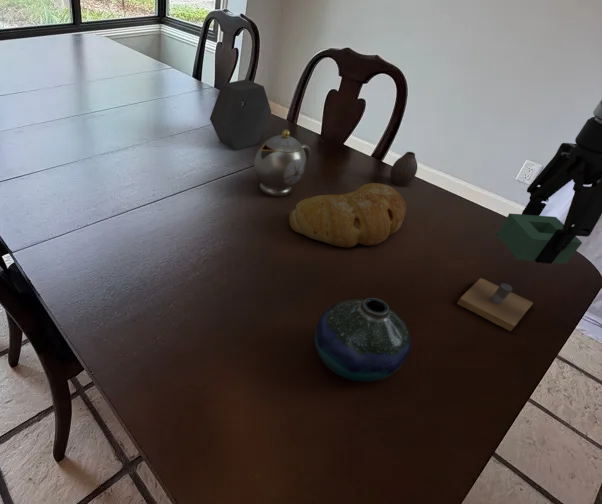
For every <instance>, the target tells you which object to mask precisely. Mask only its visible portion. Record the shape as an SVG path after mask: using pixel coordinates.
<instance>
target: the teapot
mask: <svg viewBox="0 0 602 504" xmlns="http://www.w3.org/2000/svg"><path fill="white" fill-rule="evenodd" d="M290 135H291V132H290V130H289V129H285V128H284V129H283V130H282V132H281V134H279V135H275V136H272V137H270V138H268V139H266V140H265V141H264V142H263V143H262V144H261V145H260V147H259V148H258V150H257V152H256V154H255V158H254V163H253V164H254V172H255V175H256V177H257V179H258V181H259V190H260V191H261V192H262V193H263V194H265V195H266V196H270V197H275V198H282V197H286V196H287V195H289V194H290V193H291V191H292V187H293V186H295V184H297V183H298V182H299V181H300V180H301V178H302V177H303V175H304V173H305V170H306V169H307V167H308V165H309V163H310V159H311V154H312V153H311V148H310V146H309V145H307V144H303V143H302V144H301V142H300V141H298V140H297V139H296V138H294V137H292V136H290Z"/></svg>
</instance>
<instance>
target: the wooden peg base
mask: <svg viewBox="0 0 602 504" xmlns="http://www.w3.org/2000/svg"><path fill="white" fill-rule="evenodd" d="M512 290H513V287H512V286H511V285H510V284H508V283H501V284H499V285H497V284H494V283H493V282H491V281H488V280H487V279H484V278H482V277H480V278H479V279H478V280H477V281H476V282H474V284H473V285H472V286H471V287H470V288H469V289H468V290H467V291H466V292H465V293H464V294H462V295H461V296H460V298H459V299H458V300H457V302H456V305H458V306H460V307H462V308H465V309H466V310H468V311H470V312H472V313H474V314H476V315H478V316H480V317H481V318H484V319H485V320H488V321H489V322H491V323H493V324H495V325H497V326H499V327H501V328H503V329H505V330H507V331H508V332H512V331H513V330H514V328H516V326H517V325H518V323H519V322H520V321H521V319H522V318H523V317H524V316H525V314H526V313H527V312H528V310H530V308H531V306H533V304H534V302H533V301H531V300H529V299H526V298H524V297H523V296H520V295H518V294H516V293H514V292H512Z"/></svg>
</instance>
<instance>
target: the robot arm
mask: <svg viewBox="0 0 602 504" xmlns="http://www.w3.org/2000/svg"><path fill="white" fill-rule="evenodd" d="M592 114H593V116H591V117H589V118H587V120H586V122H585V123H584V124H583V126H582V127H581V129H580V131H579V132H578V134H577V135H576V137H575V139H574V142H575V143H573V142H572V143H569V142H562V143H561V144H560V145H559V147H558V148H557V151H556V153H555V155H554V156H553V157H552V158H551V160H549V162H548V163H547V164H546V166H545V167H544V168H543V169H542V170H541V171H540V173H539V174H538V175H537V176H536V177H535V179H533V181H532V182H531V183H530V184H529V186H528V187H527V188H526V192H527V193H528V194H530V195H529V201H528V202H527V204H526V205H525V207H524V208H523V210H522V213H521V214H524V215H537V216H541V214H542V213H543V211H544V209H545V208H546V206H547V203H548V202H549V201H550V200H549V199H550V198H552V196H553V195H555V194H556V193H557V192H558V191H559V190H561V189H562V188H563V187H565V186H566V185H568V183H570V182H571V181H573V187H572V190H573V192H574V193H573V196H572V199H571V202H570V205H569V208H568V211H567V214H566V217H565V220H564V223H563V224H564V226H563V229H557V230H556V232H555V233H554V235H553V236H552V237H551V239H550V240H549V242H548V243H547V244H546V246H545V247H544V248H543V250H542V251H541V253H540V254H539V255H538V257H537V258H536V259H535V261H534V262H535V263H536V264H537V263H538V264H553V263H552V262H553V261H554V260H555V258H556V257H557V256H558V255H559V253H560V252H561V251H563V250H565V249H566V248H567V246H568V245H569V244H570V242H571V241H572V240H573V238H574V237H575V236H576V237H584V238H585V237H588V238H589V236H591V234H592V233H593V230H594V229H595V227H596V225H597V223H598V222H599V220H600V218H601V216H602V98H601V99H600V101H599V102H598V104H597V105H596V107H595V108H594V110H593V112H592ZM546 202H547V203H546Z"/></svg>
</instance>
